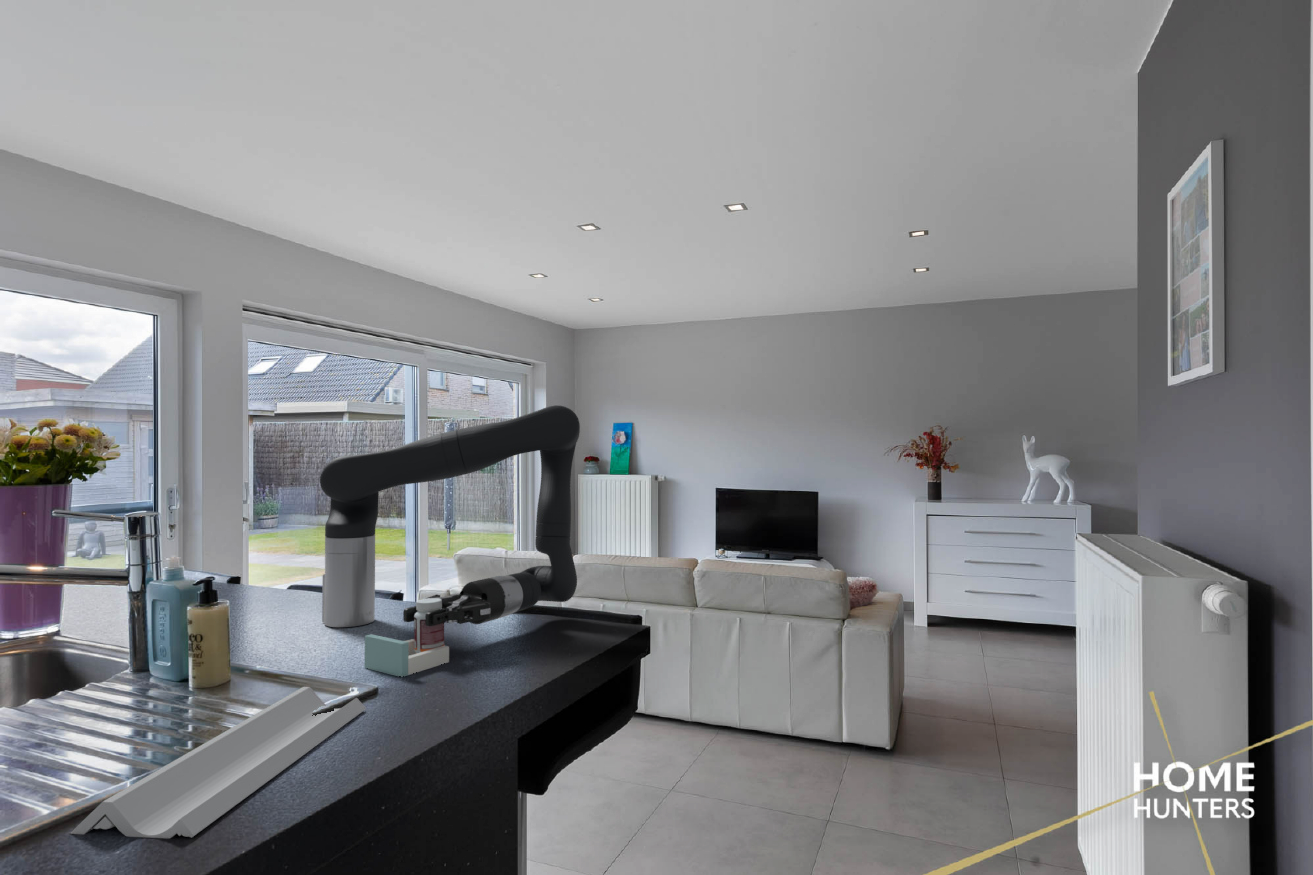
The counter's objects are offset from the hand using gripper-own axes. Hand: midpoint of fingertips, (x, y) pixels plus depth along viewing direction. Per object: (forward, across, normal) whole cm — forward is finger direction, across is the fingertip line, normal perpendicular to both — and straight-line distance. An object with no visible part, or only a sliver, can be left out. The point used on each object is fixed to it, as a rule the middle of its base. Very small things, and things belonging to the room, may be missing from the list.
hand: (416, 617), depth 116 cm
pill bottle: (-3, 0, +6) cm, 7 cm away
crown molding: (+35, +14, +8) cm, 38 cm away
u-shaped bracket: (+1, 0, +7) cm, 7 cm away
